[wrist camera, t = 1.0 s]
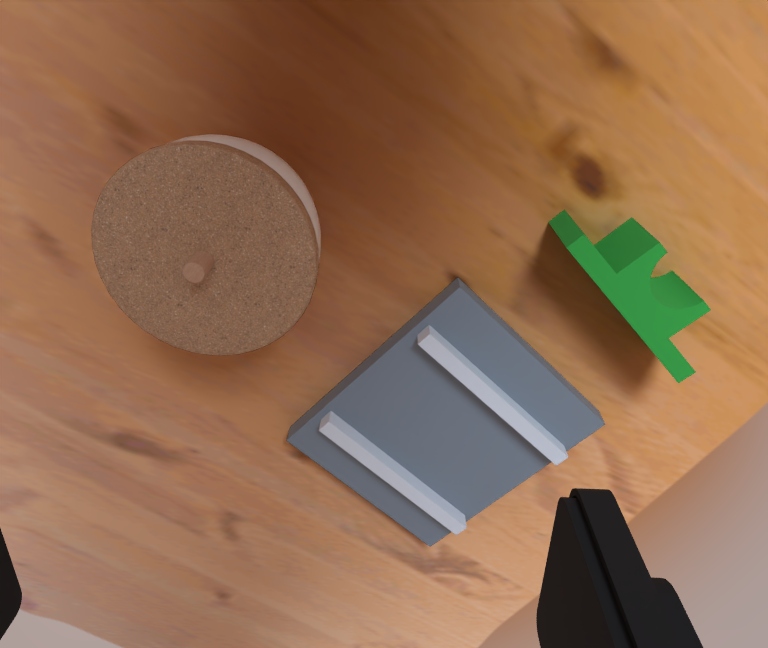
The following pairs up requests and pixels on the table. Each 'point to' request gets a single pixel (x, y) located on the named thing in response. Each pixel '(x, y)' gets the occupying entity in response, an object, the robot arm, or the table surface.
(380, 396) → the rail board
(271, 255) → the lidded jar
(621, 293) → the pipe clamp
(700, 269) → the table surface
